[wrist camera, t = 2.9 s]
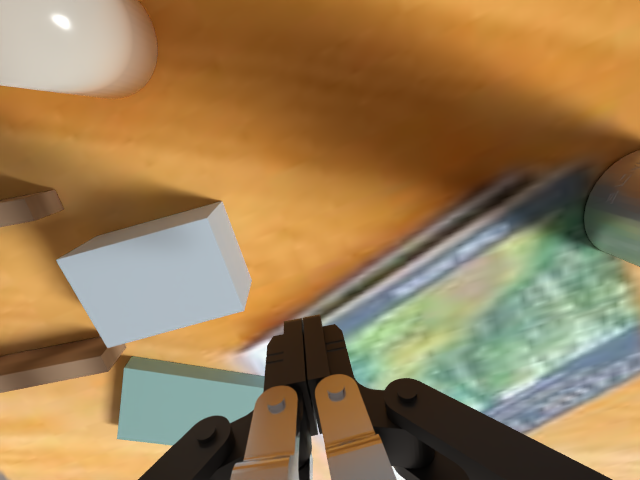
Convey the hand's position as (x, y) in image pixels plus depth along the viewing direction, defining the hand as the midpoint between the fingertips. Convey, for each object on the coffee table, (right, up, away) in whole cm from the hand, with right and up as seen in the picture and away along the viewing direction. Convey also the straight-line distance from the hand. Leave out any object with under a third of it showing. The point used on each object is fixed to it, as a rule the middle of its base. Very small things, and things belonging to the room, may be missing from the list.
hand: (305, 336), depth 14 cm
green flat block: (-11, -11, +18) cm, 24 cm away
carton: (-11, +2, +13) cm, 17 cm away
